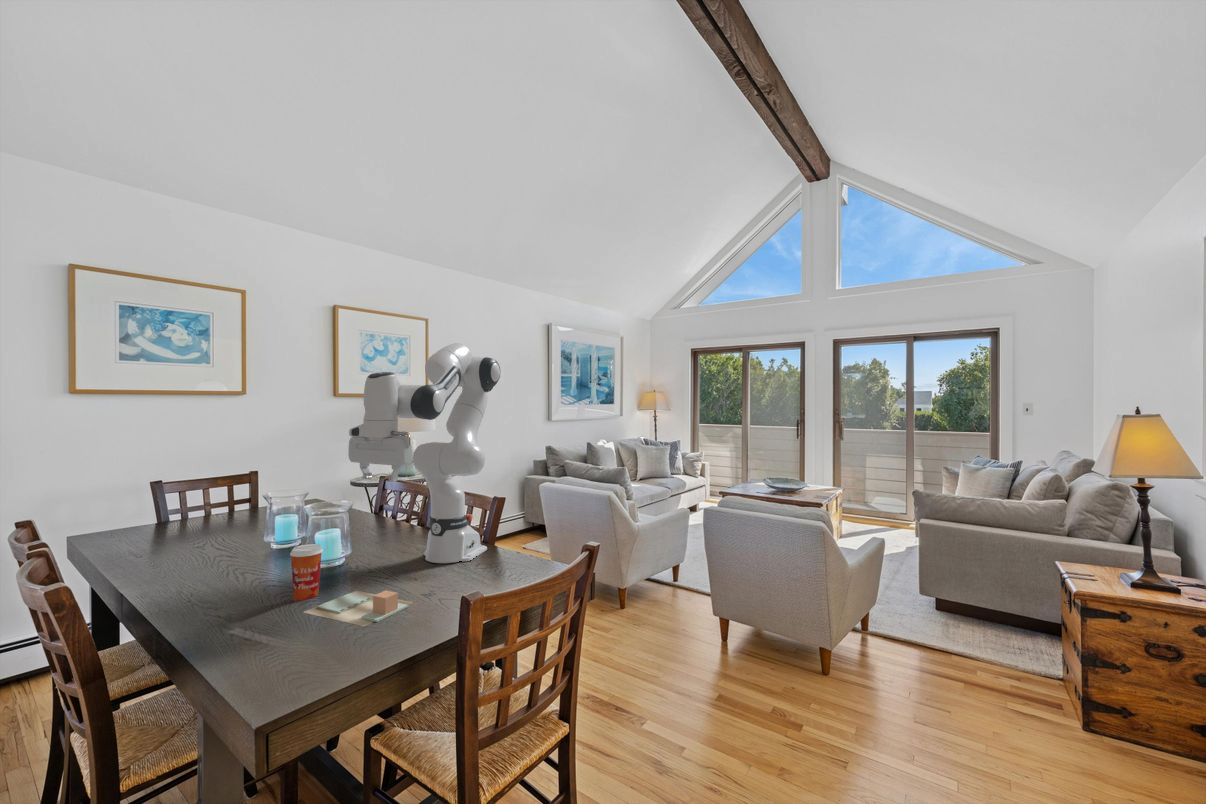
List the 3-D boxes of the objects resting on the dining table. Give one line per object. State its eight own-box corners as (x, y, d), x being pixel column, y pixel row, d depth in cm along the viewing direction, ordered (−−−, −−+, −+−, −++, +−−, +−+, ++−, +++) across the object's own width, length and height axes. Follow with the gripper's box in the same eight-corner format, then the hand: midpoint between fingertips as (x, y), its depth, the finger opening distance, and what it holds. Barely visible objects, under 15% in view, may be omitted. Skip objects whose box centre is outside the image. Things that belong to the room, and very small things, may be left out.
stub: (392, 603, 135) (393, 586, 135) (408, 606, 133) (408, 589, 133) (361, 618, 126) (361, 599, 126) (377, 622, 124) (377, 603, 124)
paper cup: (285, 606, 135) (285, 552, 135) (294, 596, 143) (294, 544, 142) (318, 604, 137) (319, 550, 137) (326, 593, 145) (326, 542, 145)
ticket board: (356, 595, 144) (356, 588, 144) (413, 607, 136) (413, 600, 136) (302, 617, 129) (302, 609, 129) (363, 631, 121) (363, 623, 121)
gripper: (418, 431, 145) (417, 481, 145) (362, 428, 153) (362, 476, 153) (401, 432, 139) (400, 484, 139) (344, 429, 147) (343, 479, 147)
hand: (380, 480), depth 146 cm, fingers open, 8 cm apart
